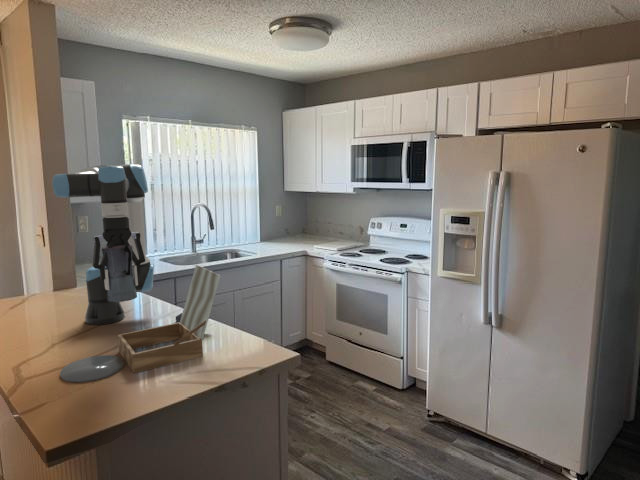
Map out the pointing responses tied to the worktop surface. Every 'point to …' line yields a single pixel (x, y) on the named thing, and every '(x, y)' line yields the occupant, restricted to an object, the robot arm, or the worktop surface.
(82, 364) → the disc
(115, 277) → the moka pot
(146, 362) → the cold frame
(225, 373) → the worktop surface
